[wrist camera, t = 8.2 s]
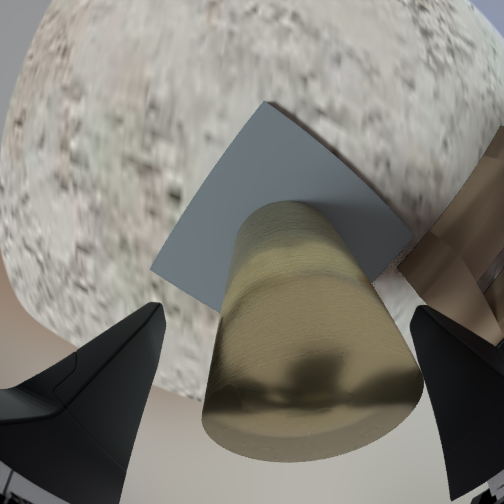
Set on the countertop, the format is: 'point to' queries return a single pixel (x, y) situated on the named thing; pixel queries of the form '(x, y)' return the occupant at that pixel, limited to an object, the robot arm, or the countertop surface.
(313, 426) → the end plug
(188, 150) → the countertop surface
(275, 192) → the mat
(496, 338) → the housing
